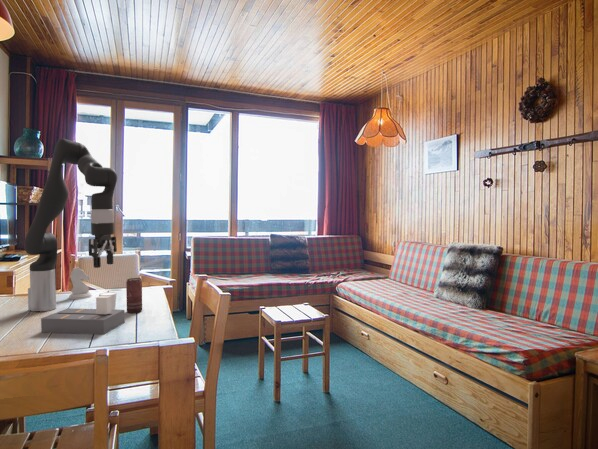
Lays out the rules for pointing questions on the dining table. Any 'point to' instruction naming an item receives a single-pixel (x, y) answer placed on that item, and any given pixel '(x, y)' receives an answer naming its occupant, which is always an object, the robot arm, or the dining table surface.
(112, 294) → the white cylinder
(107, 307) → the fader knob
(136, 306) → the can
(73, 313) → the slider control panel
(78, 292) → the chess piece
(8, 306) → the dining table surface
